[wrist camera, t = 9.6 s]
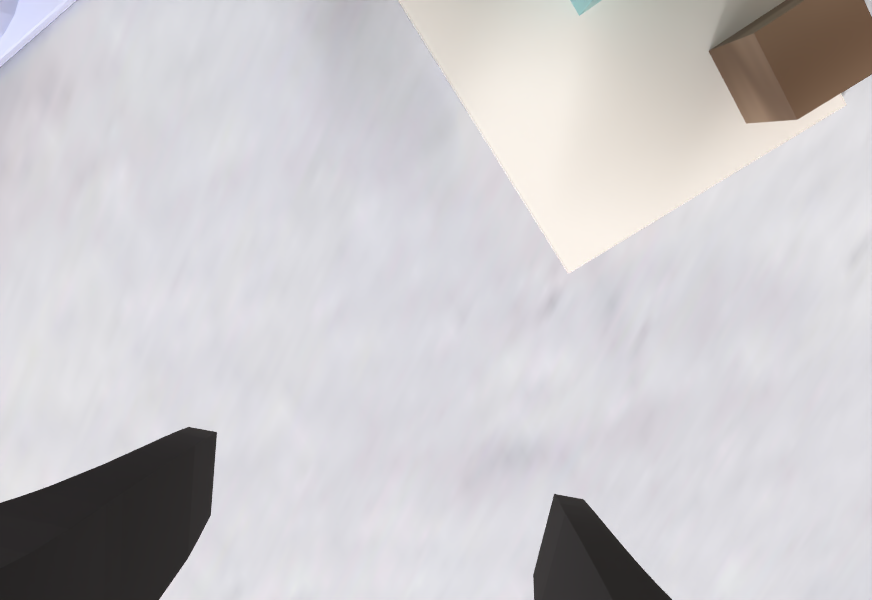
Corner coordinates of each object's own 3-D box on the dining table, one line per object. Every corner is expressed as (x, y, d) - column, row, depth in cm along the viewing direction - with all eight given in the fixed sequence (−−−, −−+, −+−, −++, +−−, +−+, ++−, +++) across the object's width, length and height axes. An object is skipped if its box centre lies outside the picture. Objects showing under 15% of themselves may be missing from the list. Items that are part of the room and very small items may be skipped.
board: (354, -70, 18) (351, -76, 18) (640, -299, 16) (646, -313, 16) (566, 270, 21) (568, 273, 20) (836, 106, 19) (846, 105, 18)
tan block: (708, 51, 18) (754, 33, 15) (787, -1, 17) (850, -30, 15) (746, 123, 18) (797, 119, 16) (824, 75, 18) (891, 61, 15)
